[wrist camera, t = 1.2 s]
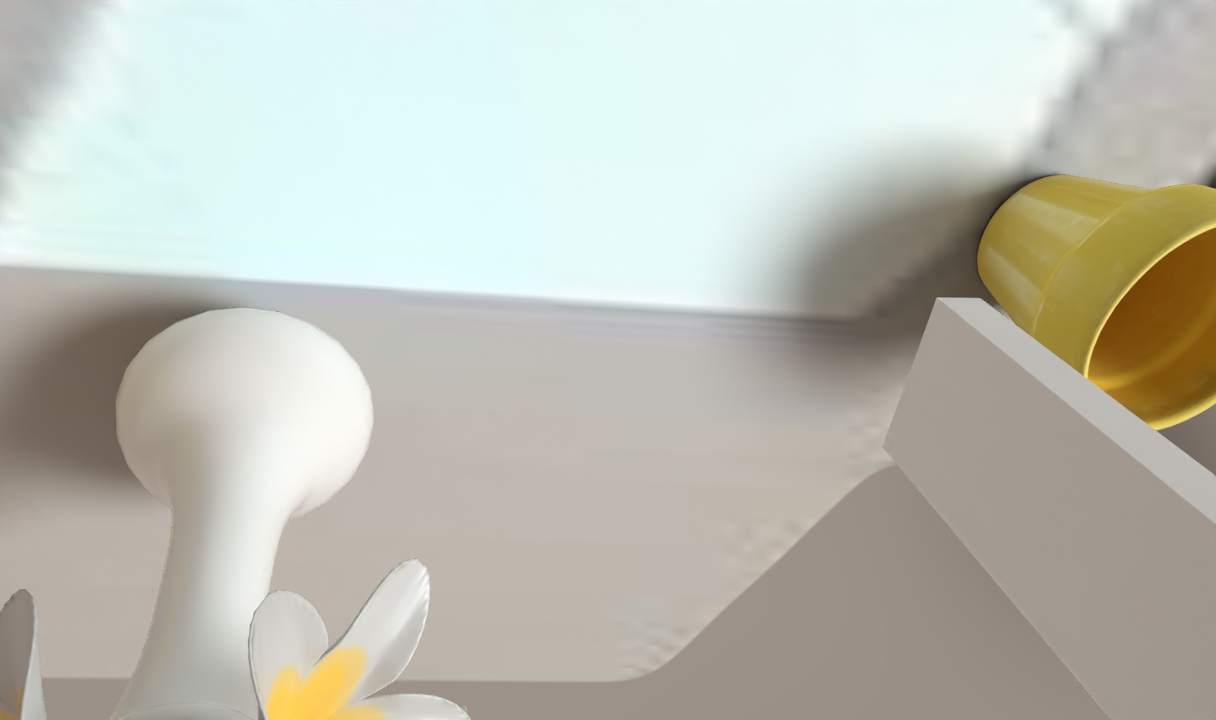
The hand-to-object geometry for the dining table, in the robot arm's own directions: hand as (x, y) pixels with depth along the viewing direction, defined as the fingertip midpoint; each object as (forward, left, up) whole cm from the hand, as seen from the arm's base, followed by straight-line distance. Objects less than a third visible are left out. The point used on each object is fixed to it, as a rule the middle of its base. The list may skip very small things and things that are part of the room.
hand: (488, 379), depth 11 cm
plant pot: (+5, +31, -24) cm, 39 cm away
